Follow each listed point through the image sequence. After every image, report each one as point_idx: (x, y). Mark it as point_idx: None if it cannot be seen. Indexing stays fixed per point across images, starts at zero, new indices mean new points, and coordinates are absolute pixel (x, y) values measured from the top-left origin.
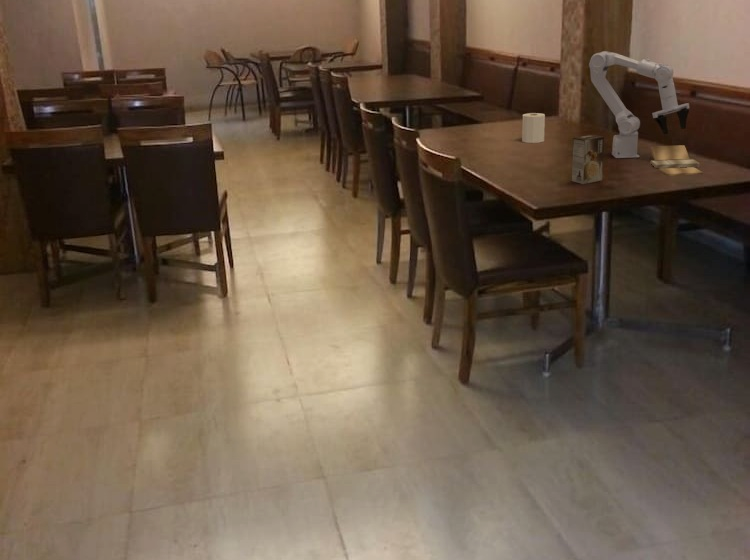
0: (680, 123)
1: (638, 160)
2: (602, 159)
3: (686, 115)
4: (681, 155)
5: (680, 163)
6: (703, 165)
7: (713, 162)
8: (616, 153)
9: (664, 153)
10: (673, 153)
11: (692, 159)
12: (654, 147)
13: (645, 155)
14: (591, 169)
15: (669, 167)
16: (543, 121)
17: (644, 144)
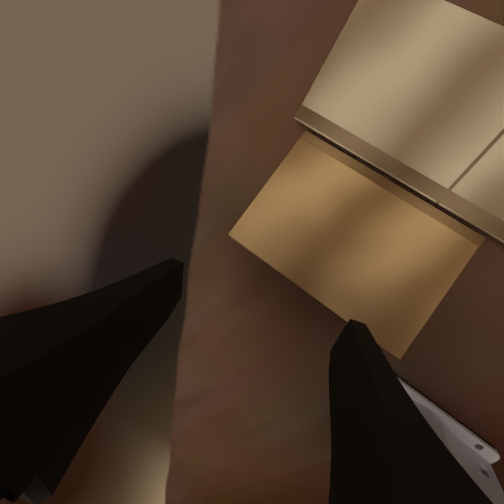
0: (150, 334)
1: (453, 347)
2: None
3: (31, 320)
4: (313, 182)
5: (486, 39)
6: (311, 26)
7: (221, 65)
8: (495, 478)
9: (381, 254)
10: (336, 221)
11: (309, 106)
12: (389, 336)
13: (323, 370)
14: None
15: None
16: None
17: (189, 437)
